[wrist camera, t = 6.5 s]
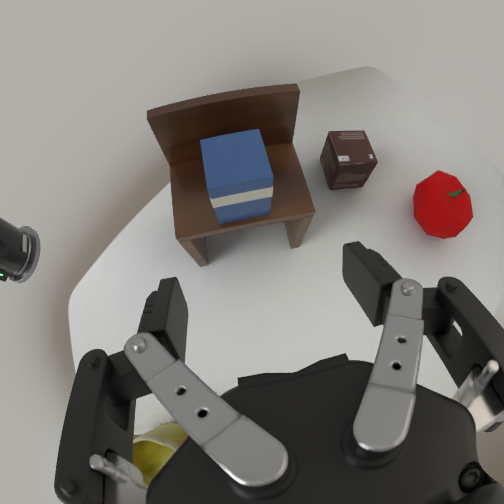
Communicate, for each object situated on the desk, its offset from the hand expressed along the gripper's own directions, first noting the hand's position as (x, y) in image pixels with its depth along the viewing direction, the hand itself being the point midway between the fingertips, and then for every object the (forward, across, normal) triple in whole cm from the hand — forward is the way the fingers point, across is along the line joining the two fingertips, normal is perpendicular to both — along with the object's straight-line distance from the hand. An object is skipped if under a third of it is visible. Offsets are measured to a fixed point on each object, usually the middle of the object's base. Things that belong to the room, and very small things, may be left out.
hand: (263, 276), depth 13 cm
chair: (+26, 0, +8) cm, 27 cm away
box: (+30, -17, +4) cm, 35 cm away
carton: (+16, 0, +1) cm, 16 cm away
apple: (+23, -31, +11) cm, 40 cm away
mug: (+5, +17, +29) cm, 34 cm away
